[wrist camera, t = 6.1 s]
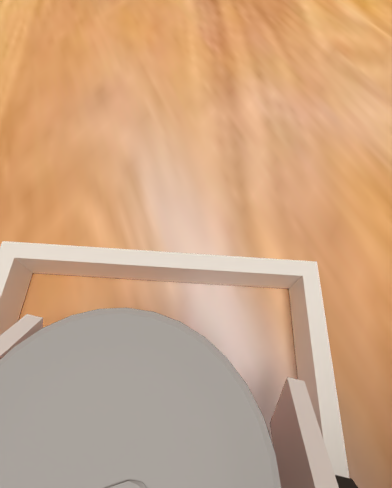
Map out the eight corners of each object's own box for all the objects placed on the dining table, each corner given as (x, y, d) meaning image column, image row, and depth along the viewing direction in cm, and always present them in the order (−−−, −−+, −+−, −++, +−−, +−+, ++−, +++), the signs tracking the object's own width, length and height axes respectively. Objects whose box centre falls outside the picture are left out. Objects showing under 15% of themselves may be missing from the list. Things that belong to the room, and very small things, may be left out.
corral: (301, 275, 21) (316, 261, 18) (355, 716, 12) (397, 790, 10) (21, 258, 20) (2, 241, 18) (-130, 712, 11) (-205, 790, 9)
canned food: (123, 573, 14) (-12, 1051, 4) (47, 411, 16) (-150, 441, 6) (249, 450, 16) (370, 544, 6) (165, 327, 19) (154, 253, 9)
